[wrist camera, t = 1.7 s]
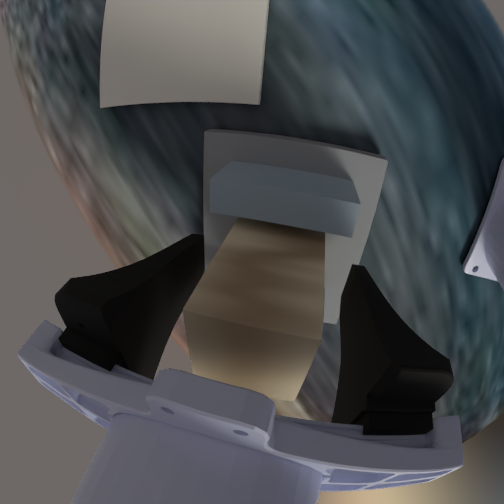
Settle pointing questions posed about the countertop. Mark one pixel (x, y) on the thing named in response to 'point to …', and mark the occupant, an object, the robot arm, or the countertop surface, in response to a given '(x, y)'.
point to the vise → (293, 195)
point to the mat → (182, 51)
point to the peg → (259, 308)
